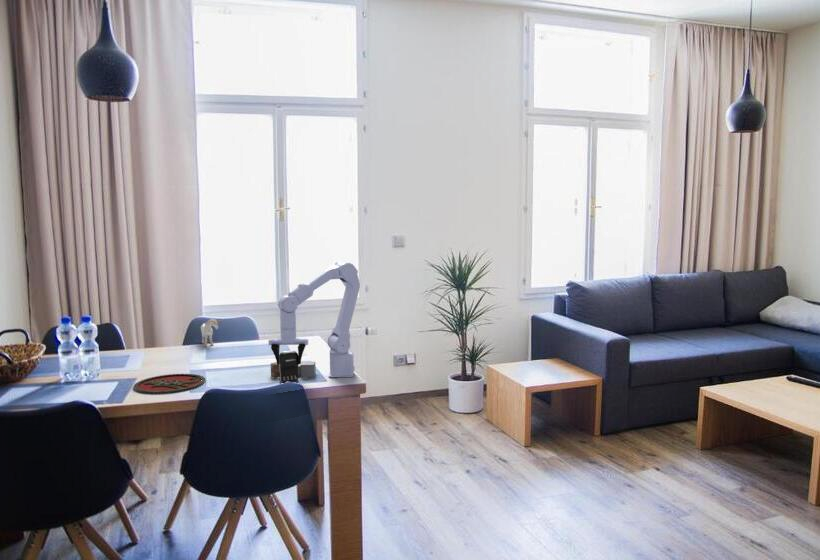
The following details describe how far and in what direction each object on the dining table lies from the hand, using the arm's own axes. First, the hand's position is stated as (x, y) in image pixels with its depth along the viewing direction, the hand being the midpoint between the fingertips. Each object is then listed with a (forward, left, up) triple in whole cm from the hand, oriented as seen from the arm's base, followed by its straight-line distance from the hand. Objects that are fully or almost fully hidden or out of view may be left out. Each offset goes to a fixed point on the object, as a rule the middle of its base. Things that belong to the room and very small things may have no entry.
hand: (289, 363), depth 232 cm
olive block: (0, -10, -7) cm, 12 cm away
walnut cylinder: (+6, -8, -7) cm, 12 cm away
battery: (0, 0, -7) cm, 7 cm away
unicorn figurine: (+47, -70, -7) cm, 85 cm away
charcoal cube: (-6, -8, -7) cm, 12 cm away
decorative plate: (+44, +1, -7) cm, 44 cm away
